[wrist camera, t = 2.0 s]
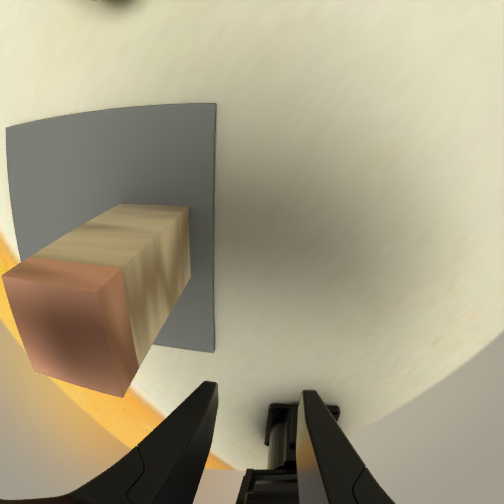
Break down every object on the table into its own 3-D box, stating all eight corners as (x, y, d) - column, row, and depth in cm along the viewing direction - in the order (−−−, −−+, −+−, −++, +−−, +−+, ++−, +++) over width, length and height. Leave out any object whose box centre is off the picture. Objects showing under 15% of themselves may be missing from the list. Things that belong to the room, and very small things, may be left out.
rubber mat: (214, 349, 25) (213, 352, 24) (39, 316, 26) (36, 319, 26) (216, 103, 18) (214, 103, 18) (9, 127, 20) (5, 127, 19)
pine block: (191, 277, 22) (122, 397, 12) (126, 270, 23) (34, 370, 12) (188, 206, 20) (96, 292, 10) (119, 203, 21) (1, 275, 10)
